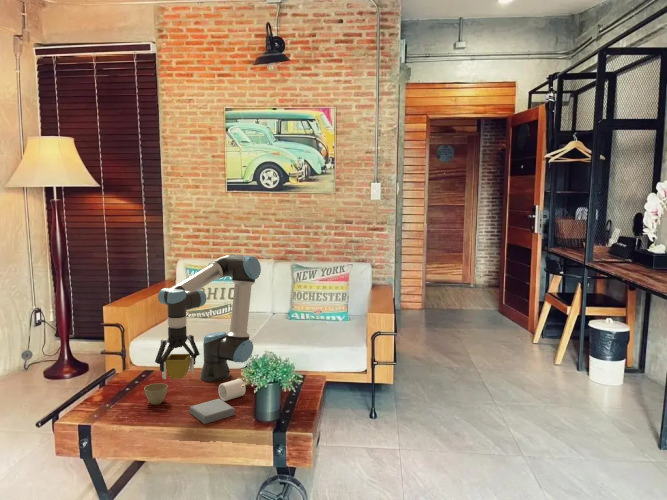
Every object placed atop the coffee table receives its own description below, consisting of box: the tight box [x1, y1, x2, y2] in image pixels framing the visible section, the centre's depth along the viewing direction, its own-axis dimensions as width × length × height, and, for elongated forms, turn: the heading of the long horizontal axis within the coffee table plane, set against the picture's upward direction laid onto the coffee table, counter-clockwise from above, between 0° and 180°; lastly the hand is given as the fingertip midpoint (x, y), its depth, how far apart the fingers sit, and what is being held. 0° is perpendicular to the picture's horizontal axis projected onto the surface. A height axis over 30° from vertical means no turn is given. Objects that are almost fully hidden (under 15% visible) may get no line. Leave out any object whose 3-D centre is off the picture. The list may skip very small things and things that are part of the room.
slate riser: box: [189, 398, 236, 425], centre depth 207 cm, size 14×14×3 cm
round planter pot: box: [143, 382, 168, 405], centre depth 218 cm, size 10×10×7 cm
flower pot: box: [165, 353, 191, 380], centre depth 207 cm, size 9×9×9 cm
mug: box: [217, 378, 246, 402], centre depth 225 cm, size 12×10×8 cm
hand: (178, 375), depth 208 cm, fingers closed on flower pot, 12 cm apart
